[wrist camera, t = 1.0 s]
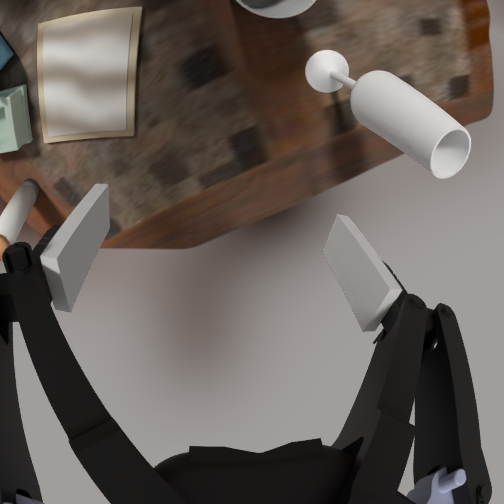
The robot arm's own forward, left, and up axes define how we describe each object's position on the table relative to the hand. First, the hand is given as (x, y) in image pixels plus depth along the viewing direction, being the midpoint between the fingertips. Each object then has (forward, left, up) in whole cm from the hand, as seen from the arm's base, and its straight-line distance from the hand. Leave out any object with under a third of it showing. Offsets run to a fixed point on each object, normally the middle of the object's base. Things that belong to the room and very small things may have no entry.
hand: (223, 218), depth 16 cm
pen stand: (+1, -30, -25) cm, 39 cm away
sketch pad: (-3, -16, -25) cm, 30 cm away
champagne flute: (-6, +16, -26) cm, 31 cm away
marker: (+14, -28, -25) cm, 40 cm away
